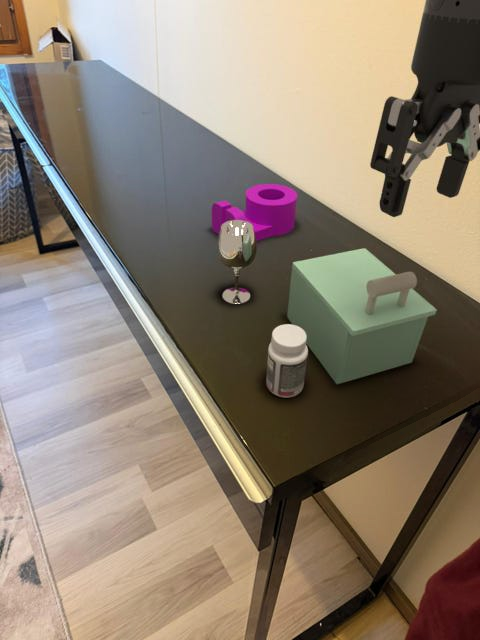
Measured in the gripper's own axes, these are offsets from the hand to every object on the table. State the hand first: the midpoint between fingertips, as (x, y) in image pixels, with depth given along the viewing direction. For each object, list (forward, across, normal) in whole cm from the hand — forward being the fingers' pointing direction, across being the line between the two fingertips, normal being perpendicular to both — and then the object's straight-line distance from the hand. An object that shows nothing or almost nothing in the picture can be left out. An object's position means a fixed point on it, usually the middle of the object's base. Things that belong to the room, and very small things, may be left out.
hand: (419, 203), depth 46 cm
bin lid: (+14, +1, +6) cm, 15 cm away
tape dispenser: (+23, +9, +40) cm, 47 cm away
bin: (+23, +1, +6) cm, 24 cm away
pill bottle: (+23, -12, +4) cm, 26 cm away
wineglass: (+23, -7, +23) cm, 33 cm away
